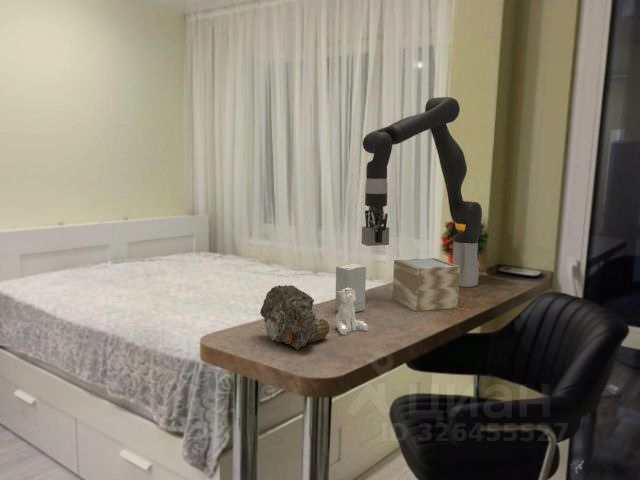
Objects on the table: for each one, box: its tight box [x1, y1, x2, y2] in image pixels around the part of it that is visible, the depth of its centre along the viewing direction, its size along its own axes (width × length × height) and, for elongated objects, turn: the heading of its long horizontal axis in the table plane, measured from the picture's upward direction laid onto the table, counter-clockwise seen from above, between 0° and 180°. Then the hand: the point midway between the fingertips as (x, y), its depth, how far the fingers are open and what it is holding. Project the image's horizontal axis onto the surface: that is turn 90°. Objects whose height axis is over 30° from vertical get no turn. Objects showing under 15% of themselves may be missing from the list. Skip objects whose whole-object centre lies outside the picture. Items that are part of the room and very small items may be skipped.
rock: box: [259, 284, 331, 351], centre depth 137 cm, size 18×14×15 cm
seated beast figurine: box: [334, 288, 369, 336], centre depth 148 cm, size 10×9×12 cm
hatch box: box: [392, 257, 460, 312], centre depth 178 cm, size 16×16×14 cm
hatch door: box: [401, 258, 451, 268], centre depth 177 cm, size 13×13×1 cm
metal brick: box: [361, 225, 390, 247], centre depth 180 cm, size 8×5×6 cm, turn 108°
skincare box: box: [334, 262, 367, 313], centre depth 167 cm, size 8×6×15 cm
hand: (375, 241), depth 180 cm, fingers closed on metal brick, 5 cm apart
